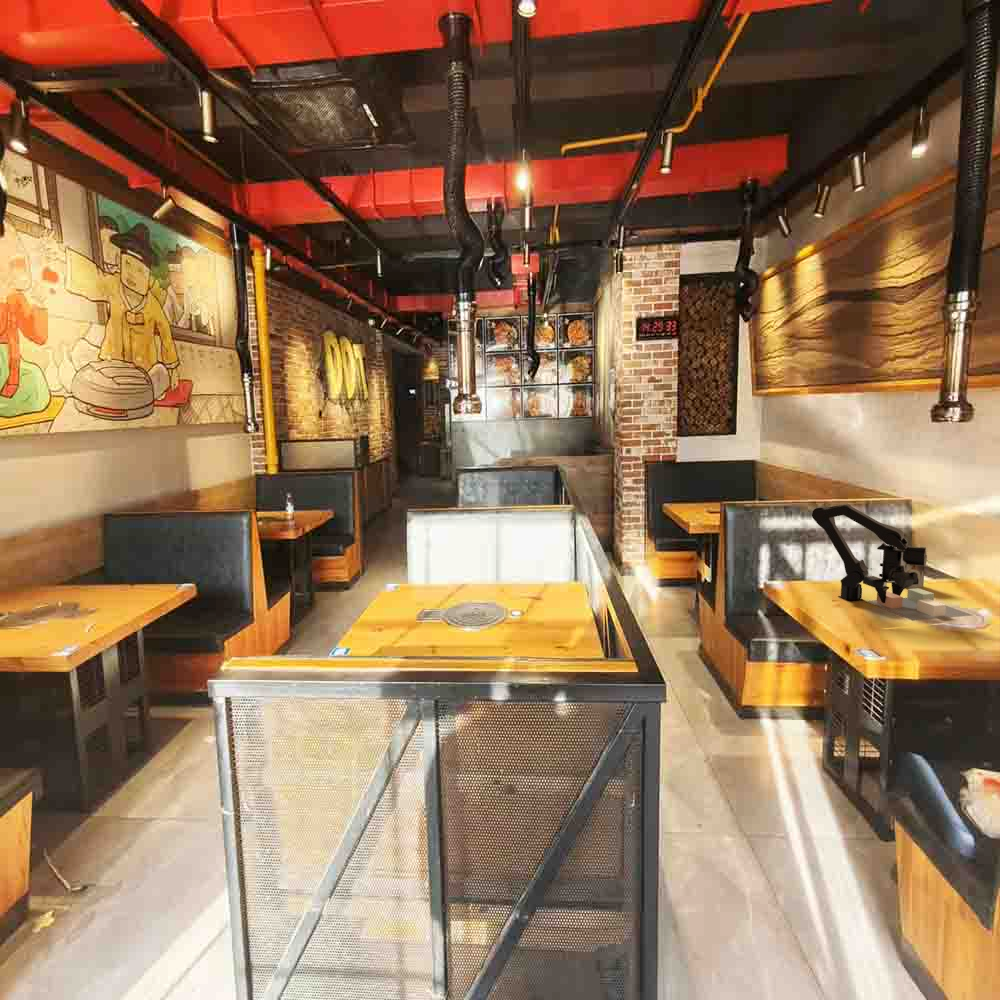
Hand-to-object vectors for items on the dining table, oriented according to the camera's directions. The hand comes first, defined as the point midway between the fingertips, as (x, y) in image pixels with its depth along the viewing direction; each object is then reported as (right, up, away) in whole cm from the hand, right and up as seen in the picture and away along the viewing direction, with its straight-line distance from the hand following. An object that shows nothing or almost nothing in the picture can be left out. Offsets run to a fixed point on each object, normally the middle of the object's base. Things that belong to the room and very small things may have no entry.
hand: (889, 602), depth 220 cm
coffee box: (+23, +2, +23) cm, 33 cm away
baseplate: (+8, -2, -4) cm, 9 cm away
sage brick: (+14, 0, +3) cm, 14 cm away
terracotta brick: (0, -1, 0) cm, 1 cm away
